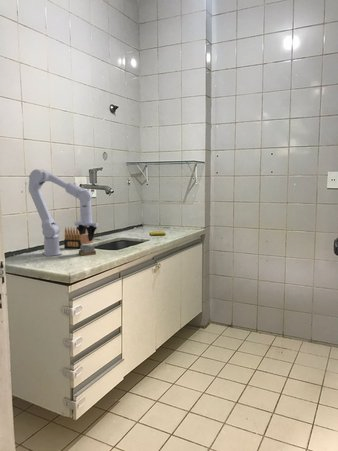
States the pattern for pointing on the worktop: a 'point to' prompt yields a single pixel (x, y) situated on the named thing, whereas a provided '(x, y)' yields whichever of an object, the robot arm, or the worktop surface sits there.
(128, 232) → the worktop surface
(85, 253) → the walnut slab
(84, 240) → the terracotta cube
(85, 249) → the grey slab
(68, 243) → the ammunition clip
